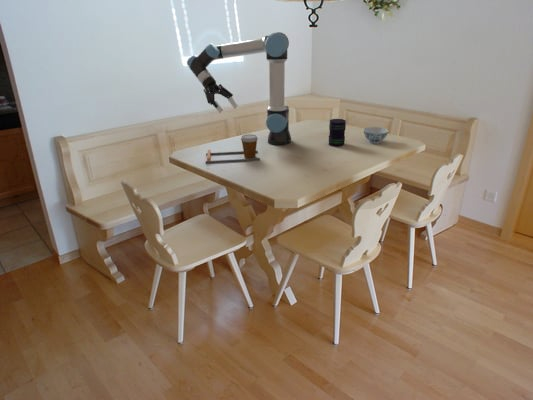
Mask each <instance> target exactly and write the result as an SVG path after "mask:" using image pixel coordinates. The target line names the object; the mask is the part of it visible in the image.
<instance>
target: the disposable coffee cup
mask: <svg viewBox="0 0 533 400" xmlns="http://www.w3.org/2000/svg"><path fill="white" fill-rule="evenodd" d="M240 140H241V144H242V151H244V153H243V156H244V159H254V158H256V154H257V153H256V151H257V145H258V140H259V138H258V136H257V135H256V134H251V133H250V134H249V133H248V134H244V135H241V138H240Z"/></svg>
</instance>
